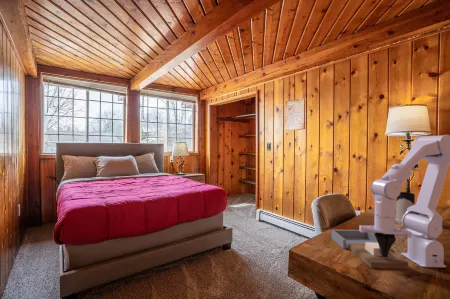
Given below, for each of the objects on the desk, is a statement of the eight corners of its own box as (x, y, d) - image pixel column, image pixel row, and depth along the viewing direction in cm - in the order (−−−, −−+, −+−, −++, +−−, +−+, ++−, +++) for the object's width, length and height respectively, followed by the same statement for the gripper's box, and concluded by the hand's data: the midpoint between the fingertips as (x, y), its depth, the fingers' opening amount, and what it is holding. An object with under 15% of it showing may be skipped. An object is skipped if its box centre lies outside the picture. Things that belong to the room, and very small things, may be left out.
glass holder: (393, 220, 124) (393, 193, 123) (399, 215, 133) (400, 189, 133) (414, 224, 117) (414, 195, 117) (419, 219, 126) (419, 192, 126)
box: (384, 249, 88) (384, 240, 88) (343, 248, 89) (343, 239, 89) (367, 238, 99) (367, 229, 99) (330, 237, 100) (330, 229, 100)
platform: (408, 268, 74) (408, 262, 74) (371, 267, 75) (371, 261, 75) (379, 249, 88) (379, 244, 88) (348, 248, 89) (348, 243, 89)
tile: (388, 255, 79) (388, 248, 79) (373, 255, 79) (373, 248, 79) (378, 249, 84) (379, 242, 84) (365, 249, 84) (365, 242, 84)
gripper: (405, 214, 79) (404, 253, 79) (357, 210, 83) (357, 247, 83) (414, 220, 72) (414, 263, 72) (362, 215, 76) (361, 256, 77)
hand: (384, 255), depth 77 cm, fingers closed
